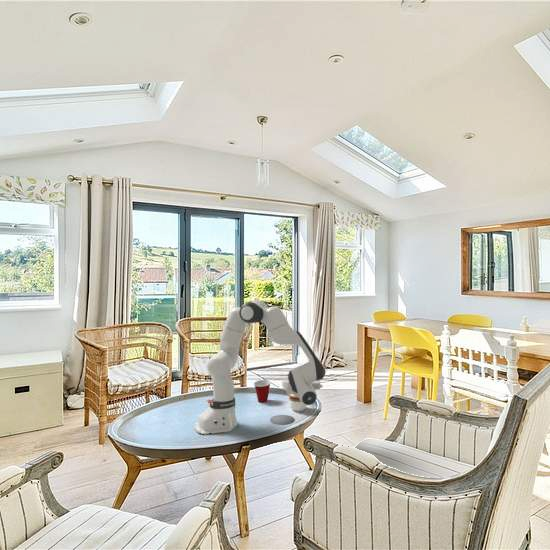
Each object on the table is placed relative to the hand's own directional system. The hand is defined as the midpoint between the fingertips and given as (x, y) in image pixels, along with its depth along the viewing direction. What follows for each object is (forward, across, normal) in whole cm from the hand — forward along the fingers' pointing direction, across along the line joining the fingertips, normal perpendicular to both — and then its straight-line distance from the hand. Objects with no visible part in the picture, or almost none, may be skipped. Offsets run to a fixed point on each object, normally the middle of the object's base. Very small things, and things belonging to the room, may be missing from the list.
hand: (299, 379), depth 204 cm
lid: (+12, -2, +12) cm, 17 cm away
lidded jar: (+12, -2, +22) cm, 25 cm away
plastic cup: (+29, +18, +22) cm, 41 cm away
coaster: (-2, +9, +22) cm, 24 cm away
